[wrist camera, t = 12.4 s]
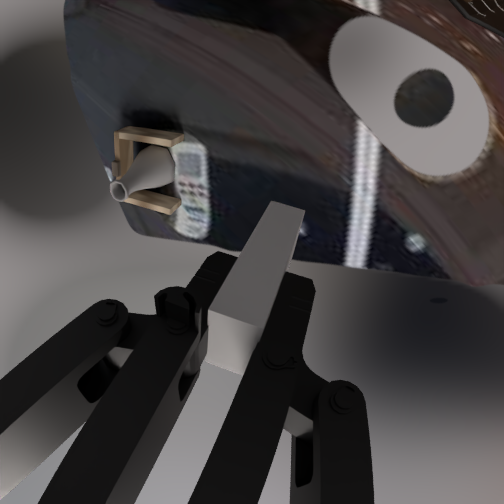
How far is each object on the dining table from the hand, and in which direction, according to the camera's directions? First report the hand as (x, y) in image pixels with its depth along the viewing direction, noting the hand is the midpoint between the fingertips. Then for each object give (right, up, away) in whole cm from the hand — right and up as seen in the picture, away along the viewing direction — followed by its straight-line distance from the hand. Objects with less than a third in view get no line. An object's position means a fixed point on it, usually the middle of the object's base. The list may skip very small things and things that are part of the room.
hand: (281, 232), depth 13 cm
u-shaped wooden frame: (-16, +13, +31) cm, 38 cm away
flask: (-16, +13, +31) cm, 38 cm away
